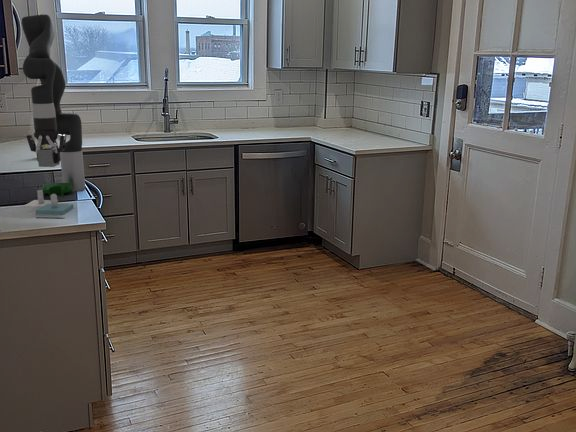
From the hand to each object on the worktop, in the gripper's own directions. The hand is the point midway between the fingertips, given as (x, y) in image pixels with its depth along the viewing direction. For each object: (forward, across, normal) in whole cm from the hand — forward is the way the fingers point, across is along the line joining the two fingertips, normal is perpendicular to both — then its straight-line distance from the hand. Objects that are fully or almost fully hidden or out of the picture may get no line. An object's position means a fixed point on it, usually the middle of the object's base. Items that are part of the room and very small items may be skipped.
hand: (49, 162), depth 217 cm
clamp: (+20, +10, -27) cm, 35 cm away
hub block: (+20, 0, 0) cm, 20 cm away
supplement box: (+19, +58, -125) cm, 139 cm away
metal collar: (+1, 0, 0) cm, 1 cm away
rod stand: (+20, +10, -12) cm, 25 cm away
